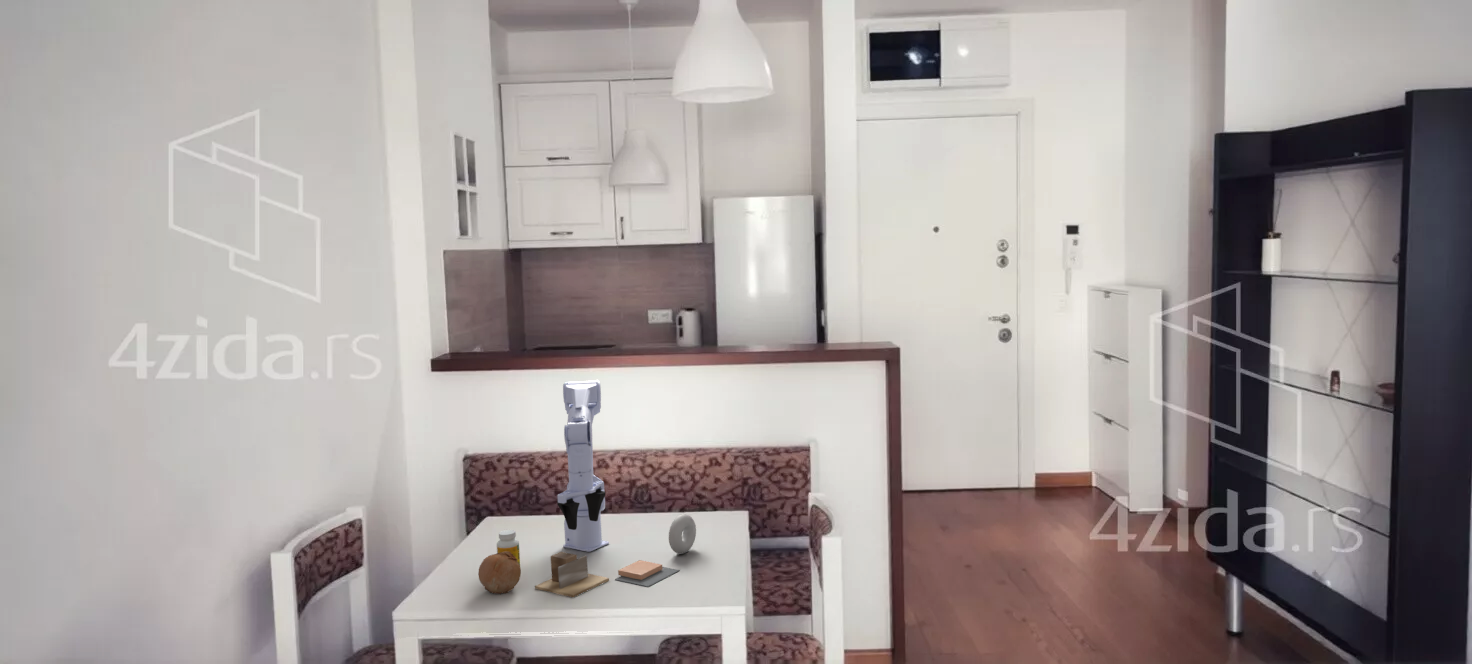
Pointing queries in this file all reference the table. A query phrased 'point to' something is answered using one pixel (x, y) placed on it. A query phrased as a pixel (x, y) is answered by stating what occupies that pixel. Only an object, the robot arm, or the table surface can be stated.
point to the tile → (640, 570)
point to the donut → (675, 533)
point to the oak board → (573, 585)
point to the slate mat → (650, 577)
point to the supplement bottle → (508, 543)
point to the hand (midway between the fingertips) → (583, 524)
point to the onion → (499, 572)
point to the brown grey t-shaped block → (568, 568)
